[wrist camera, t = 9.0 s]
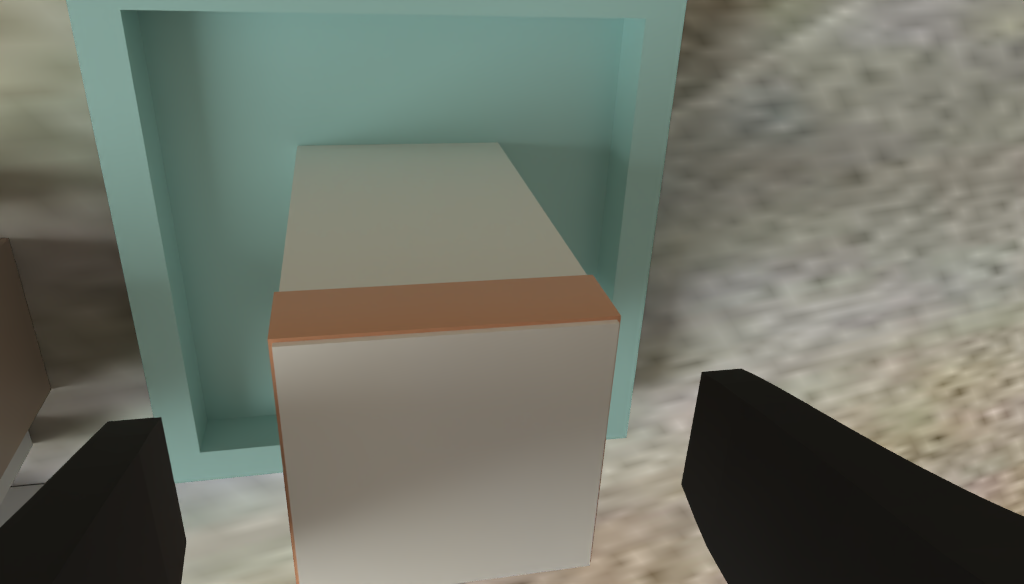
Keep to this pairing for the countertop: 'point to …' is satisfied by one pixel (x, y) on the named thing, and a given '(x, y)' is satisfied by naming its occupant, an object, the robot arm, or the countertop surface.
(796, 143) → the countertop surface
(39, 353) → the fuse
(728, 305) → the countertop surface
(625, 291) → the tray
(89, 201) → the countertop surface
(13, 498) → the clip block
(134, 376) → the countertop surface
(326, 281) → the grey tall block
